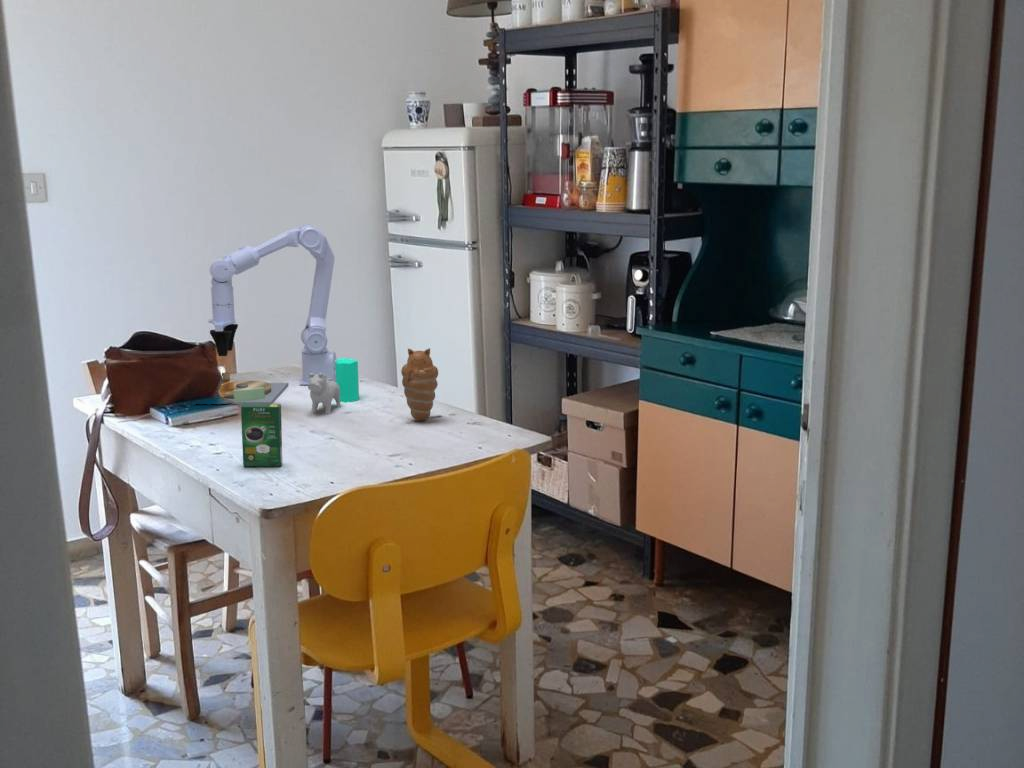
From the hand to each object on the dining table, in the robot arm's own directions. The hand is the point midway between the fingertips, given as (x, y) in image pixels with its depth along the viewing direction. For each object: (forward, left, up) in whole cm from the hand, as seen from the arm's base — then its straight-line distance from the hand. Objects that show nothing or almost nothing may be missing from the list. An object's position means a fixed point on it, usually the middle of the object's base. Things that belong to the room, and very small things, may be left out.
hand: (225, 353), depth 270 cm
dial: (-6, +8, -9) cm, 14 cm away
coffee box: (-26, +70, -10) cm, 75 cm away
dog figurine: (-31, +25, -10) cm, 41 cm away
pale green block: (-10, +16, -9) cm, 21 cm away
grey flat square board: (-6, +8, -10) cm, 14 cm away
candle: (-35, +13, -10) cm, 39 cm away
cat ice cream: (-56, +35, -10) cm, 67 cm away
